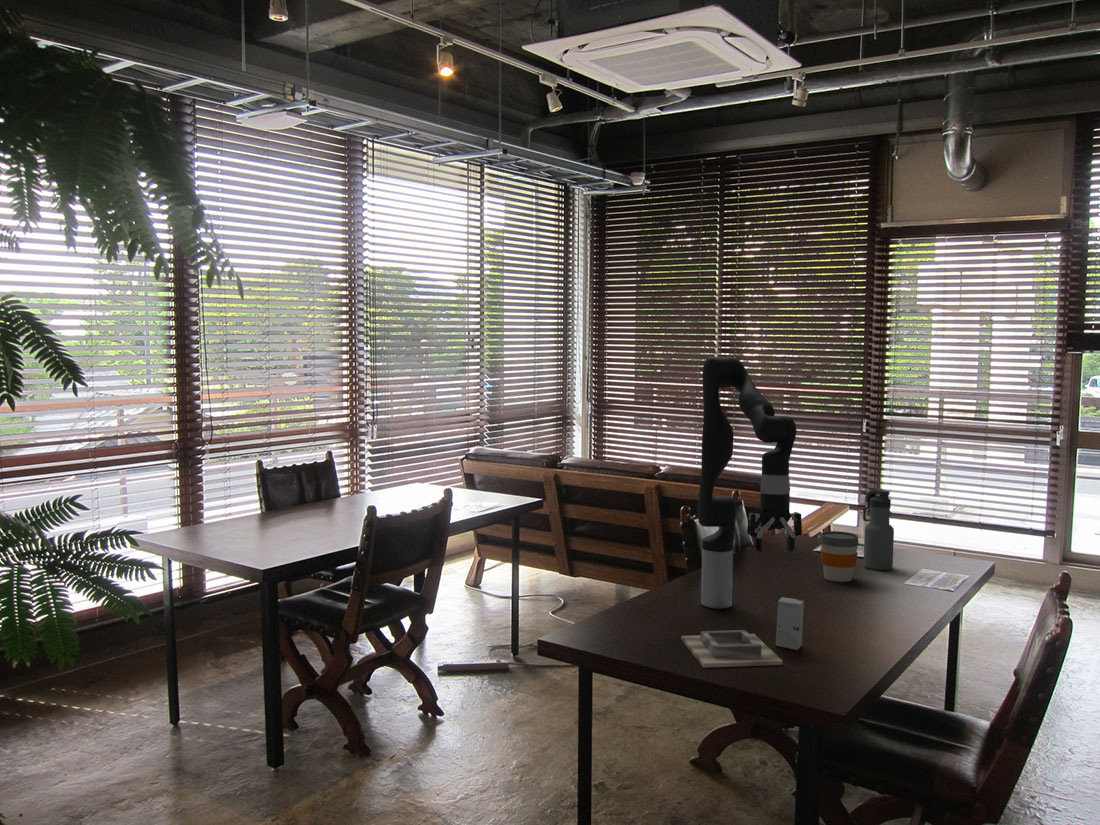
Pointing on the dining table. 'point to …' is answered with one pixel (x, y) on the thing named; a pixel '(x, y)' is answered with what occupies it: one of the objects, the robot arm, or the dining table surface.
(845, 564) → the reusable coffee cup
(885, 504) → the water bottle
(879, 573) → the dining table surface
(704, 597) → the robot arm
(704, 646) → the square frame tray
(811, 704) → the dining table surface
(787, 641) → the skincare box
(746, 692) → the dining table surface
